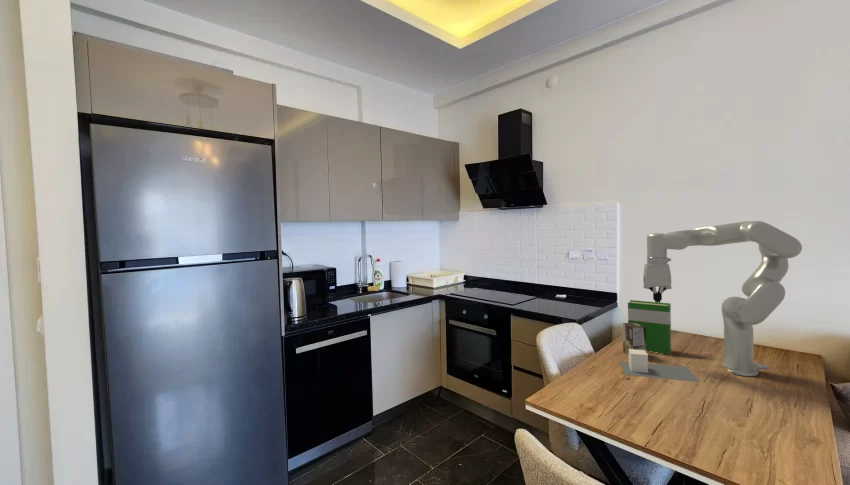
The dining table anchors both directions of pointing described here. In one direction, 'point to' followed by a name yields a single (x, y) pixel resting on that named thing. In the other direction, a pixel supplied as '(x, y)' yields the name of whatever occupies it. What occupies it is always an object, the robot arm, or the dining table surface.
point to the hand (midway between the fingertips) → (657, 301)
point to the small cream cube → (638, 360)
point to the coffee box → (633, 337)
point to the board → (662, 372)
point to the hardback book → (653, 323)
